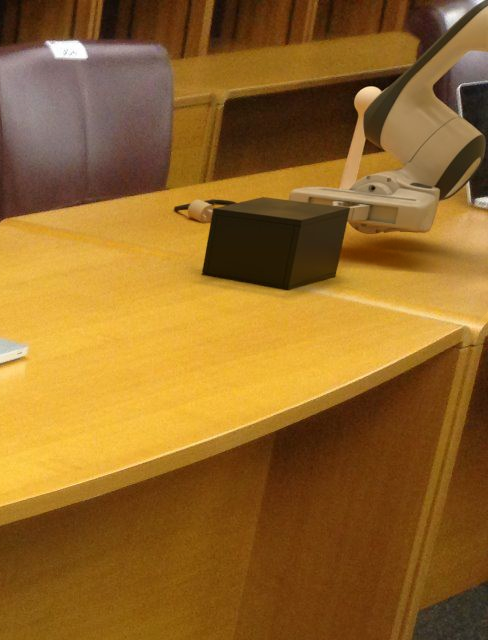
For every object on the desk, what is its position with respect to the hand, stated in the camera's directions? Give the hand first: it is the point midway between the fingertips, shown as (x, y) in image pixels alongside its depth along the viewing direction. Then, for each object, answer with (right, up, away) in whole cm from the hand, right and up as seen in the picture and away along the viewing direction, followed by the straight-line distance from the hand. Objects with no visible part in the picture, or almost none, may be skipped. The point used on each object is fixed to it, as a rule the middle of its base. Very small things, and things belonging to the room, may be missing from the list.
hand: (337, 213), depth 225 cm
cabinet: (-14, -12, -8) cm, 20 cm away
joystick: (+24, +14, +43) cm, 51 cm away
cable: (-3, +10, +35) cm, 37 cm away
